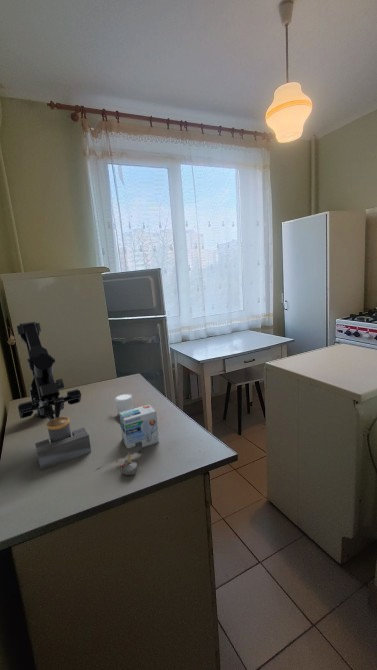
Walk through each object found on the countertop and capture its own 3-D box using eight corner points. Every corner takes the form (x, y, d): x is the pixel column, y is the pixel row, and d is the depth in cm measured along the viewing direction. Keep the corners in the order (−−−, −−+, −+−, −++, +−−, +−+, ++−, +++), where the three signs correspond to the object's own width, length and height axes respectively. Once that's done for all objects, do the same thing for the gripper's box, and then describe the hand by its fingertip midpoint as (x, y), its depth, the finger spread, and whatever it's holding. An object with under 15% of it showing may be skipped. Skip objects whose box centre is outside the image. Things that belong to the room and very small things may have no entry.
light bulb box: (127, 453, 90) (123, 420, 88) (122, 442, 96) (118, 412, 94) (160, 442, 95) (157, 410, 93) (152, 433, 101) (149, 403, 99)
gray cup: (50, 450, 92) (44, 421, 90) (71, 443, 96) (66, 414, 94) (53, 460, 87) (48, 429, 85) (76, 452, 90) (71, 422, 88)
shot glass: (130, 417, 114) (128, 400, 112) (113, 417, 115) (111, 400, 114) (136, 409, 120) (134, 393, 119) (121, 409, 122) (119, 393, 120)
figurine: (138, 476, 79) (134, 454, 79) (121, 480, 78) (118, 458, 78) (137, 467, 84) (134, 446, 84) (122, 470, 83) (118, 450, 83)
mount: (31, 449, 96) (27, 429, 95) (81, 432, 105) (78, 414, 104) (38, 478, 82) (34, 455, 80) (96, 455, 90) (93, 434, 89)
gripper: (12, 380, 90) (22, 427, 83) (75, 366, 100) (89, 407, 93) (15, 396, 98) (24, 440, 91) (73, 382, 108) (86, 421, 101)
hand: (57, 426), depth 94 cm, fingers closed
